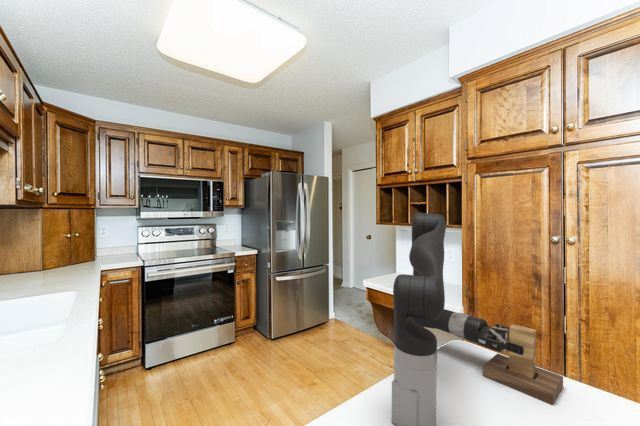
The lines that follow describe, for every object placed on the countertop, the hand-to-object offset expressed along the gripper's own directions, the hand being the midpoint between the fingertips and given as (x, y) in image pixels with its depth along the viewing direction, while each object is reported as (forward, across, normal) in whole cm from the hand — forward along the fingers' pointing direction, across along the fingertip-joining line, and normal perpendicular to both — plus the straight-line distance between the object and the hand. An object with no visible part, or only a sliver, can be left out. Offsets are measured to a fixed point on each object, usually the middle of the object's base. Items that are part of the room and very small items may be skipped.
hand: (528, 346), depth 79 cm
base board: (-1, 0, +10) cm, 11 cm away
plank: (-1, 0, +10) cm, 11 cm away
